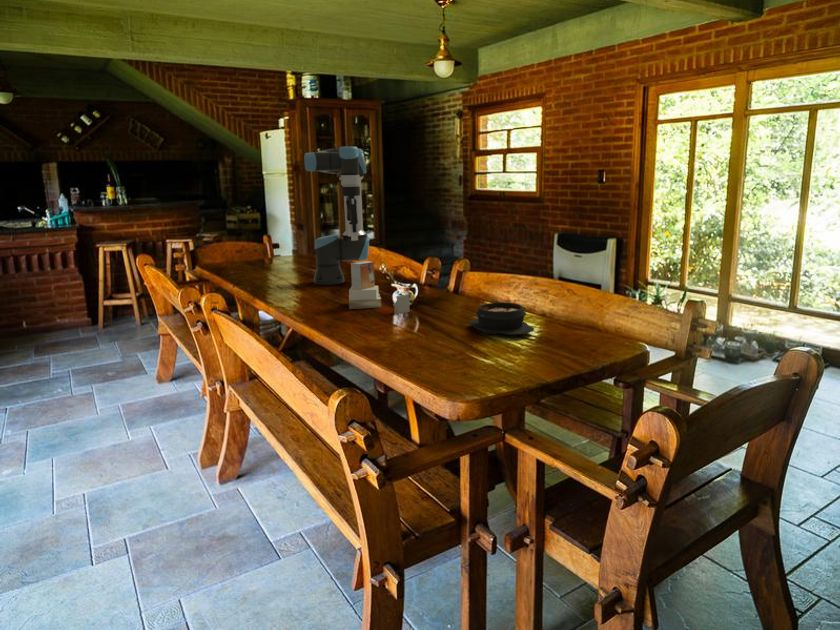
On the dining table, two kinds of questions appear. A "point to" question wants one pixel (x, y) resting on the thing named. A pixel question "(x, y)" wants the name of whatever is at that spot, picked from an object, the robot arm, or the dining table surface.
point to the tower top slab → (364, 293)
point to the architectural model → (402, 304)
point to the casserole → (501, 319)
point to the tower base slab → (365, 303)
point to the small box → (362, 275)
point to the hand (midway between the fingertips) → (353, 238)
